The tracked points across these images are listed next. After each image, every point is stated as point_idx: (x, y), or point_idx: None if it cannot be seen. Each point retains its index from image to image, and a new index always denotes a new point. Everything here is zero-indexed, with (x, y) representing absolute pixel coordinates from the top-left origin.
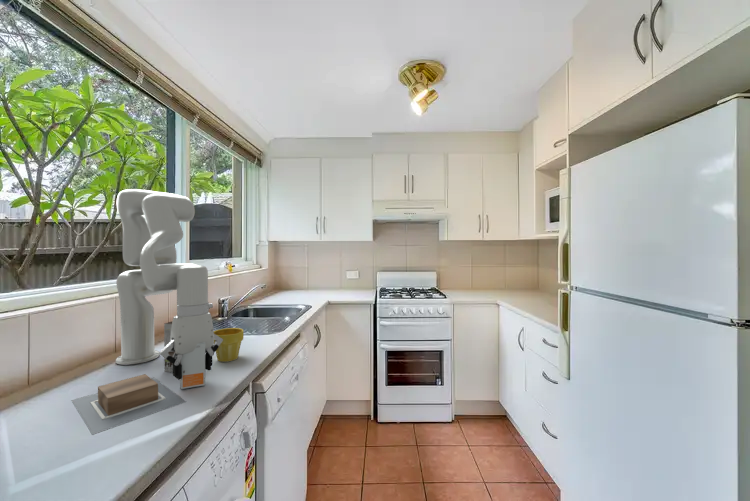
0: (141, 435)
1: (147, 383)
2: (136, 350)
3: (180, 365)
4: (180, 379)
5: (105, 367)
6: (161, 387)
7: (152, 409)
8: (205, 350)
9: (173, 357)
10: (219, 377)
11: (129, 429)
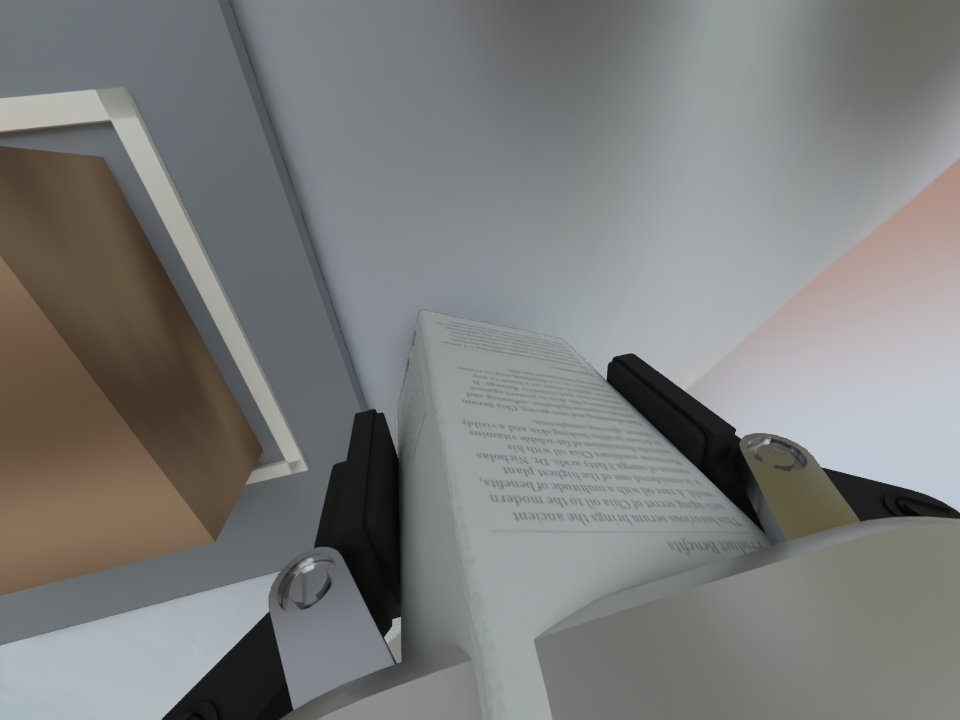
0: (233, 643)
1: (103, 502)
2: None
3: (393, 609)
4: (398, 451)
5: None
6: (267, 247)
7: (244, 545)
8: (766, 512)
9: (298, 667)
10: (659, 267)
11: (171, 602)
